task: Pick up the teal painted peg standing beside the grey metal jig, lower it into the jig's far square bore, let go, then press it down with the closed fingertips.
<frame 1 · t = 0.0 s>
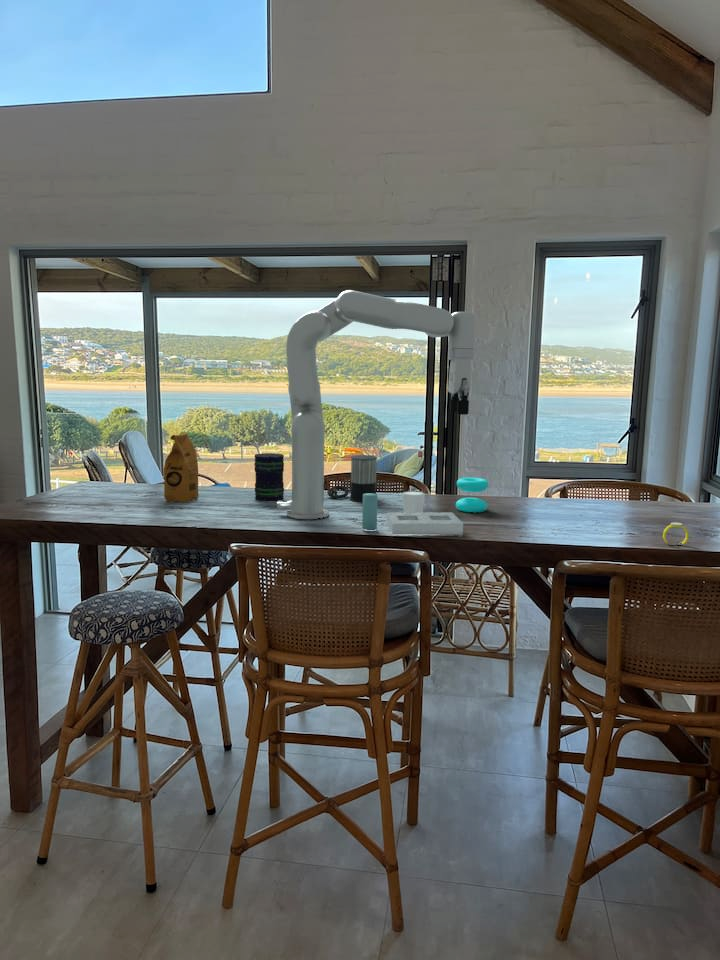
hand: (459, 413, 201), 31 cm above the table, tool pointing down, fingers open, 9 cm apart
jig: (423, 530, 186), on the table
coffee package: (181, 500, 224), on the table
milk frother: (352, 499, 230), on the table
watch: (674, 546, 174), on the table
donuts: (471, 510, 214), on the table
grey cup: (413, 516, 205), on the table
storage jar: (269, 499, 227), on the table
peg: (369, 530, 185), on the table
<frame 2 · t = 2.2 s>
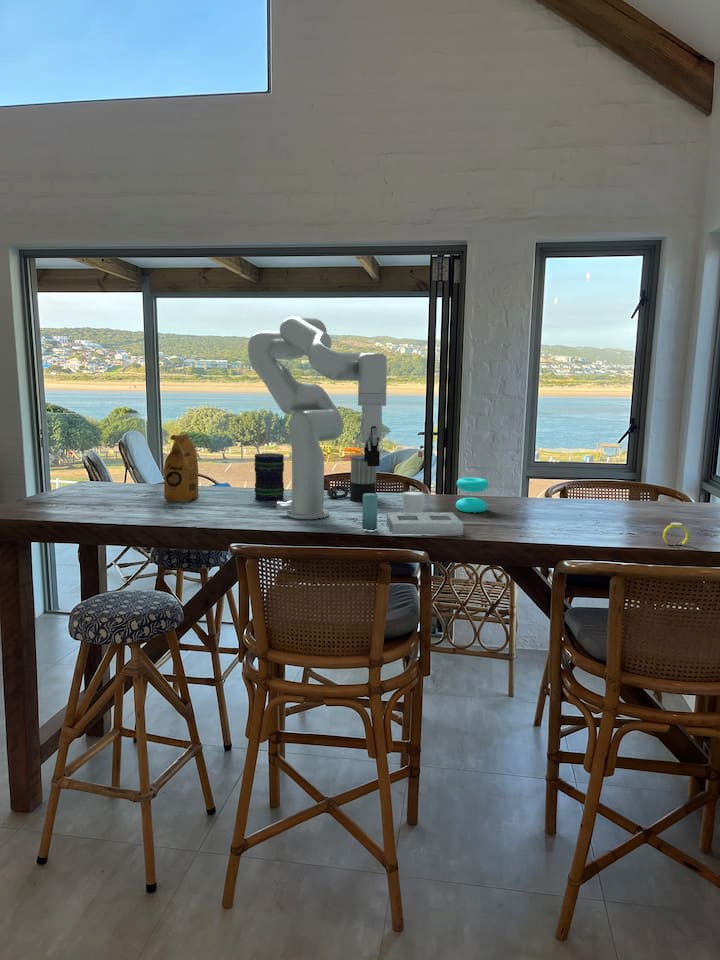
hand: (371, 463, 182), 19 cm above the table, tool pointing down, fingers open, 9 cm apart
nothing on the table moved.
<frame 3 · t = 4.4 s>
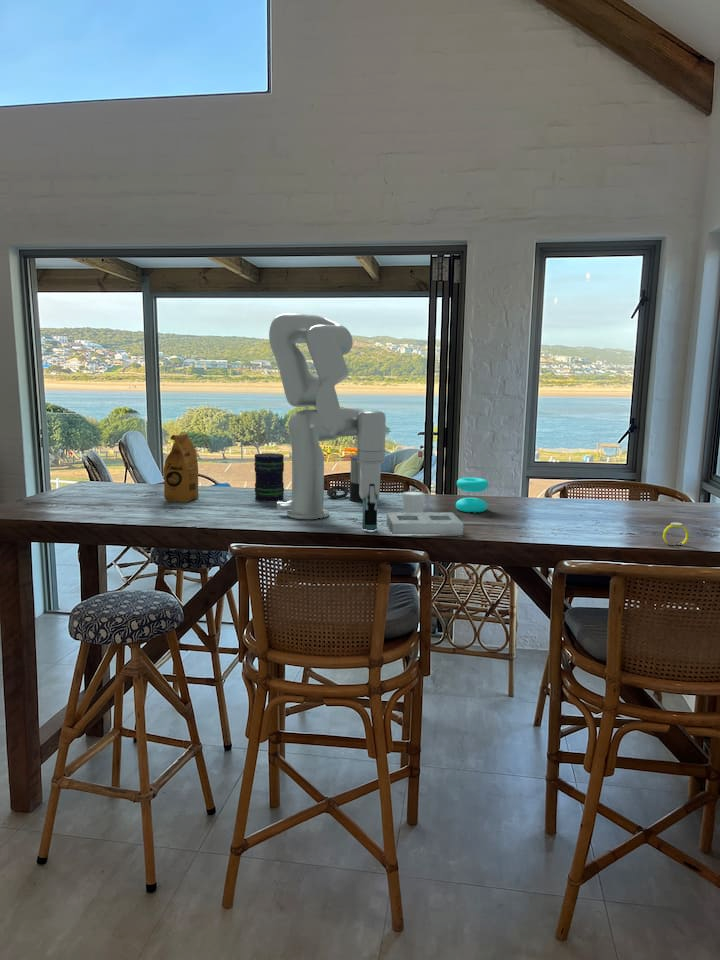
hand: (369, 522, 185), 2 cm above the table, tool pointing down, fingers closed on peg, 4 cm apart
peg: (369, 530, 185), on the table, touching gripper
everything else where it was.
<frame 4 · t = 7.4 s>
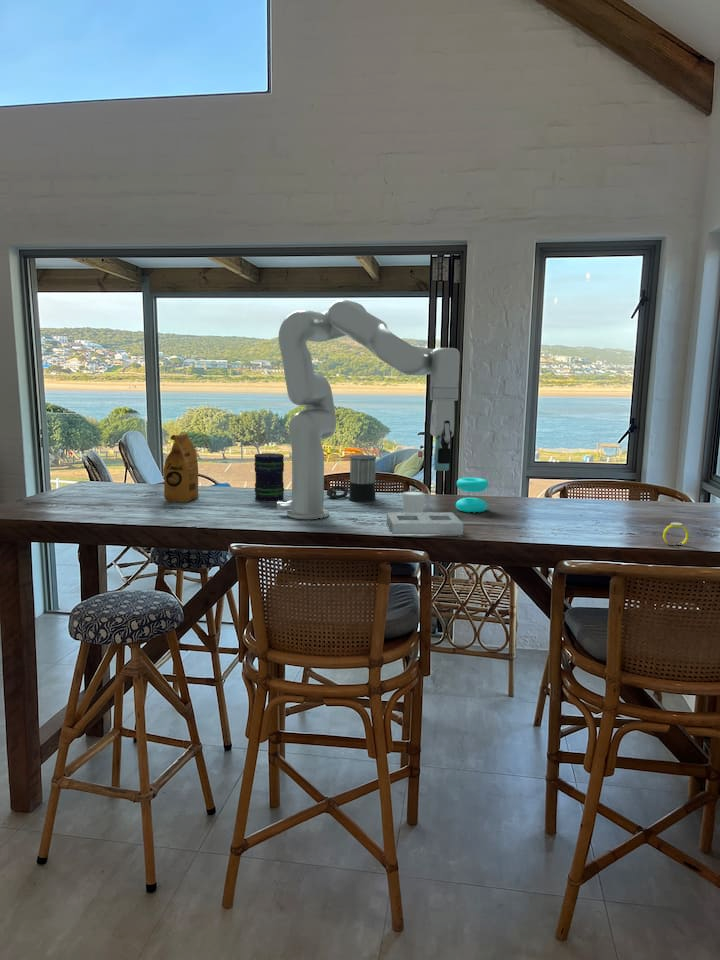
hand: (441, 461, 183), 19 cm above the table, tool pointing down, fingers closed on peg, 4 cm apart
peg: (441, 469, 184), point 17 cm above the table, touching gripper
everything else where it was.
when the fingers open (5 cm above the table, at t = 10.4 s): peg drops 2 cm, resting in jig.
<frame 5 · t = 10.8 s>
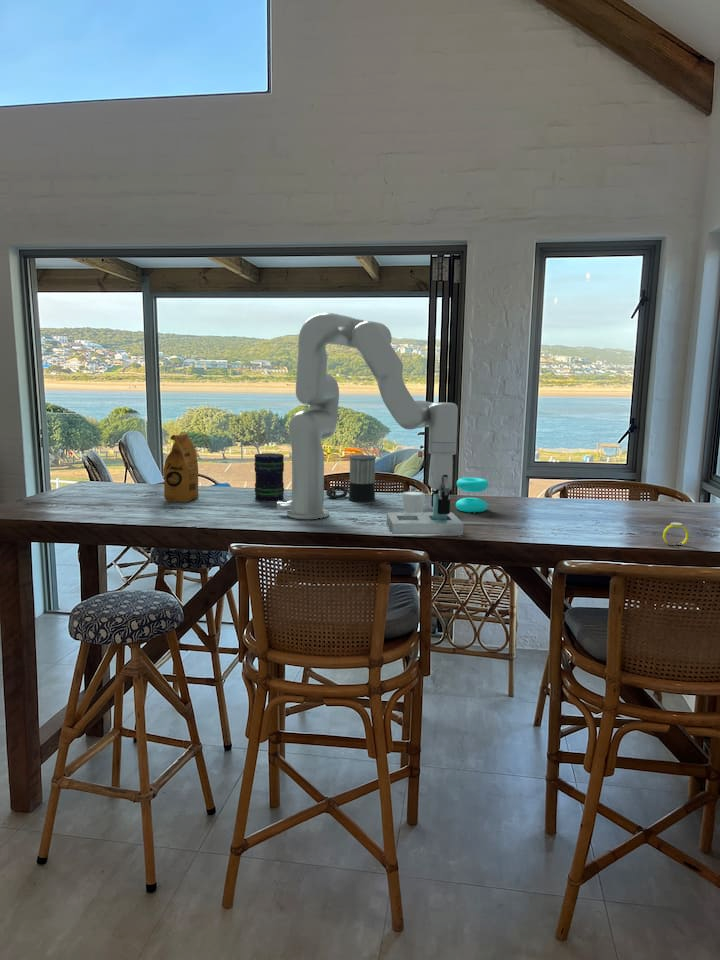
hand: (440, 510, 186), 6 cm above the table, tool pointing down, fingers open, 8 cm apart
peg: (439, 530, 187), resting in jig
everything else where it was.
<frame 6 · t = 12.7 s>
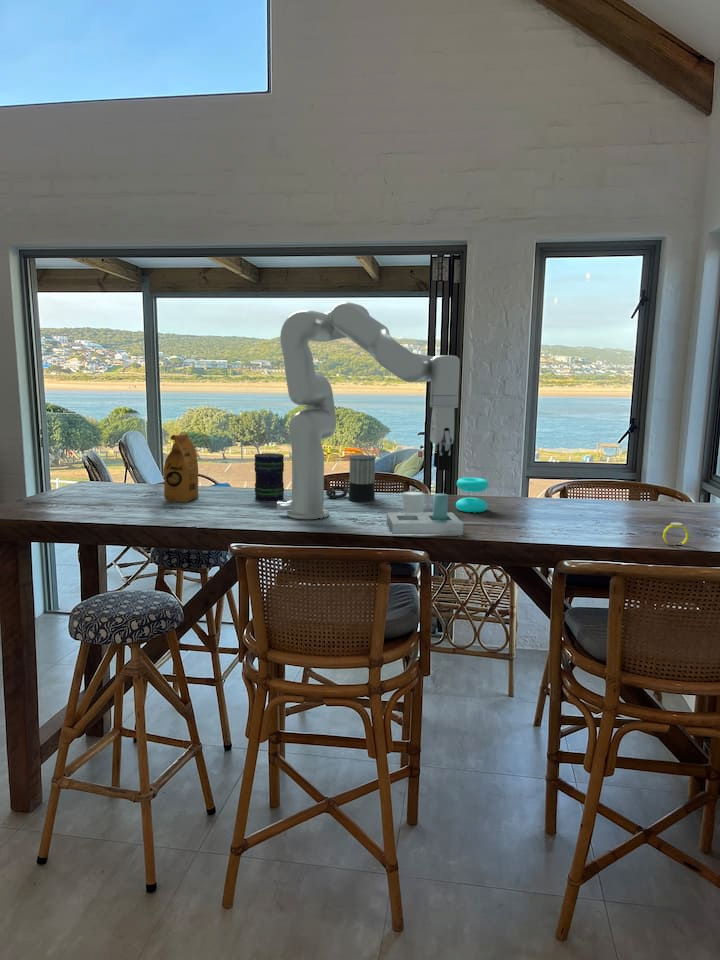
hand: (441, 467, 184), 17 cm above the table, tool pointing down, fingers open, 5 cm apart
nothing on the table moved.
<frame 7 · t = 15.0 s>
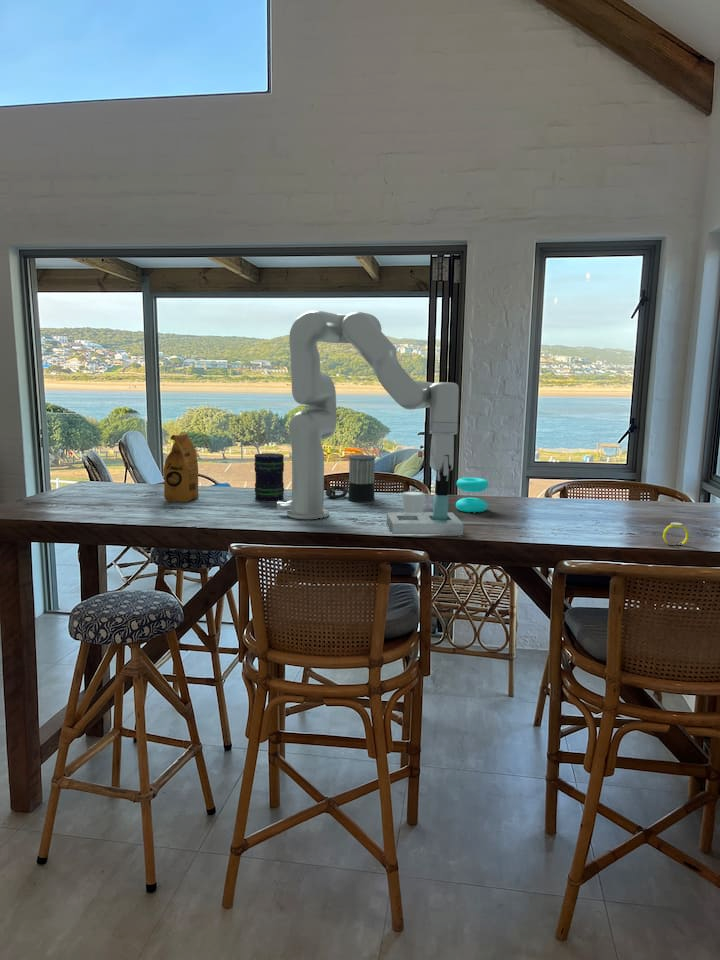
hand: (441, 494, 185), 10 cm above the table, tool pointing down, fingers closed
peg: (439, 530, 187), resting in jig, touching gripper
everything else where it was.
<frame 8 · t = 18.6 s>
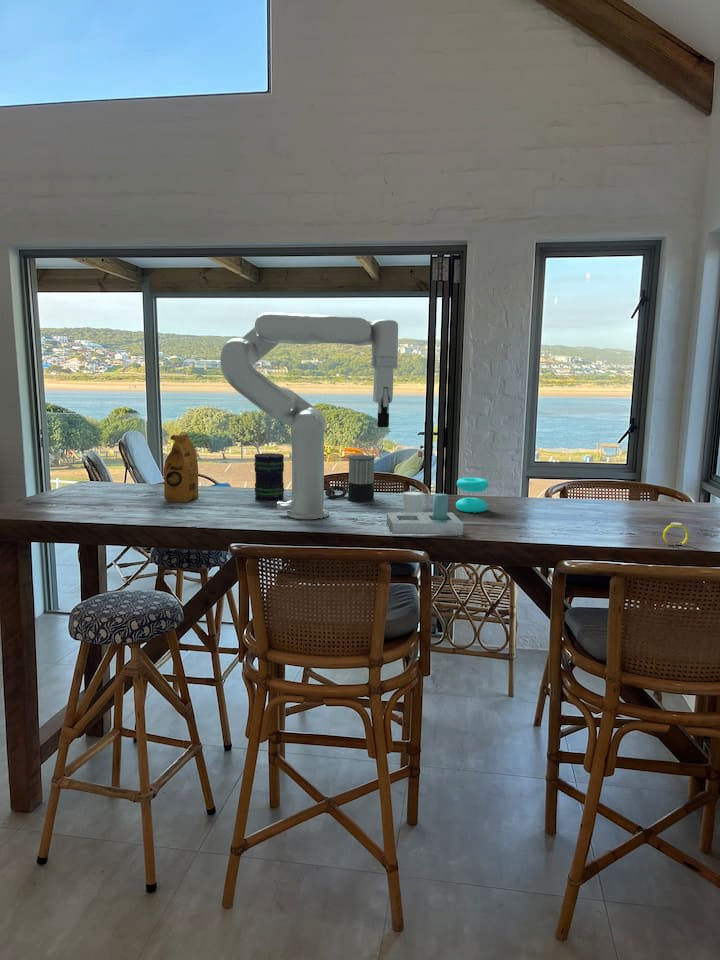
hand: (383, 426, 198), 27 cm above the table, tool pointing down, fingers closed
peg: (439, 530, 187), resting in jig
everything else where it was.
at the end: peg 0.0 cm from the target spot on the jig, point 0.0 cm above the jig's base; peg tilted 0°; the gripper is holding nothing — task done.
